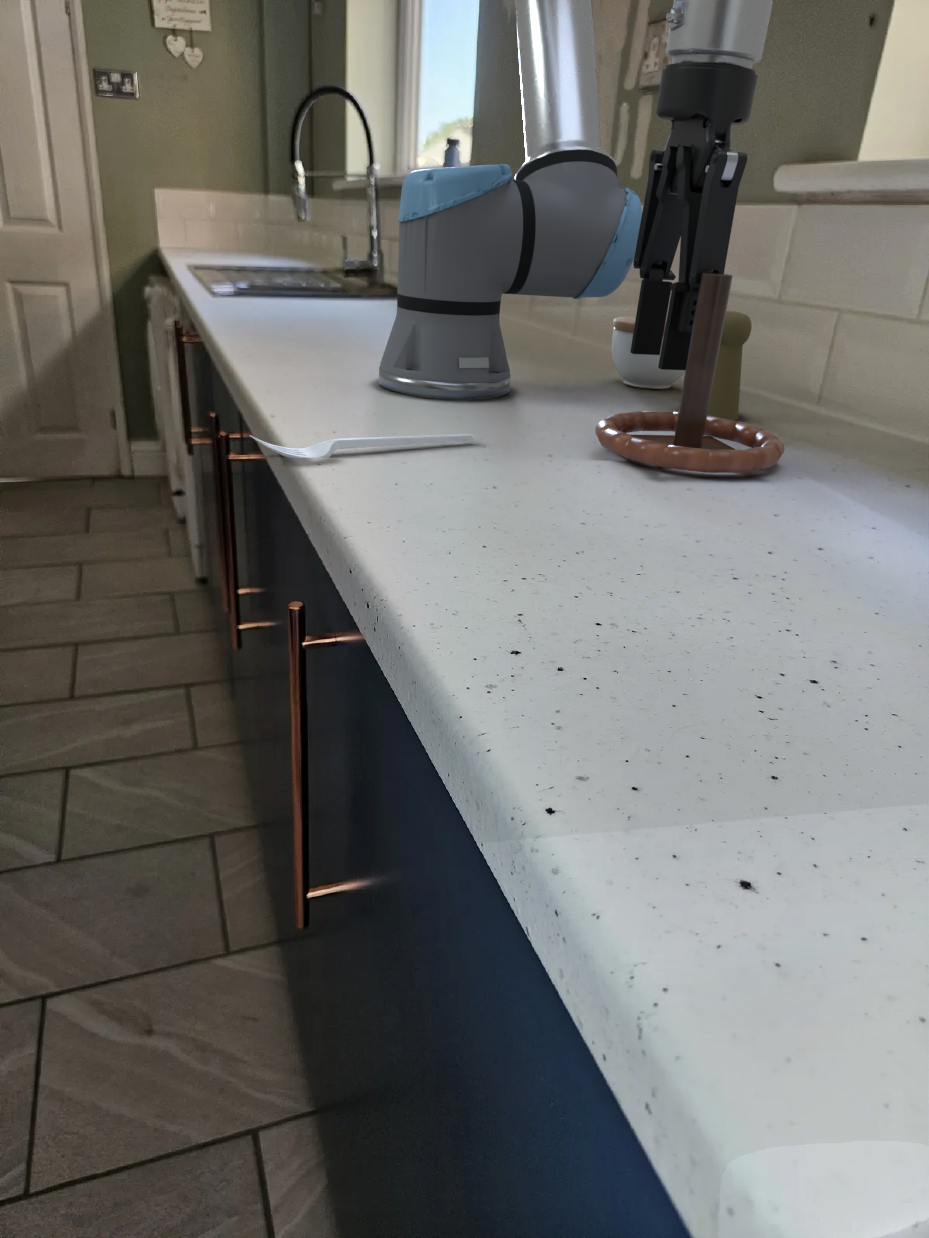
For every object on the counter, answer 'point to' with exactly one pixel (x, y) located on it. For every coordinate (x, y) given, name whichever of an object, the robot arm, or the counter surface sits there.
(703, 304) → the rail post
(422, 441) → the fork
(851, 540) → the counter surface
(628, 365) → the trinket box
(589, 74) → the robot arm
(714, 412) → the olive pepper mill
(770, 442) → the ring
